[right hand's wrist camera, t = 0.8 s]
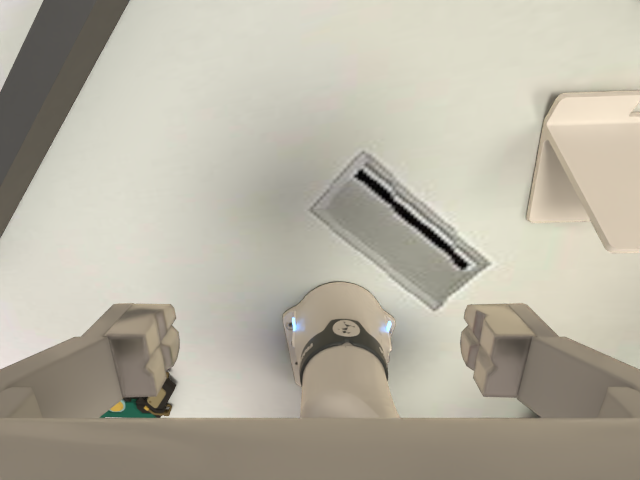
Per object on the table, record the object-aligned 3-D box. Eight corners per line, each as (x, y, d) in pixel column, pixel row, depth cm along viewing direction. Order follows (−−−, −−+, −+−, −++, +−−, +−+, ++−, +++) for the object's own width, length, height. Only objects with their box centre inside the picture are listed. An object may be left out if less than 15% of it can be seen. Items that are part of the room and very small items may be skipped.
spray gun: (185, 367, 67) (167, 423, 73) (88, 343, 64) (77, 403, 70) (178, 385, 63) (159, 443, 69) (74, 361, 60) (64, 423, 66)
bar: (-15, 264, 59) (-50, 282, 53) (-43, 248, 58) (-82, 265, 52) (254, -229, 38) (242, -284, 33) (217, -269, 37) (199, -332, 32)
